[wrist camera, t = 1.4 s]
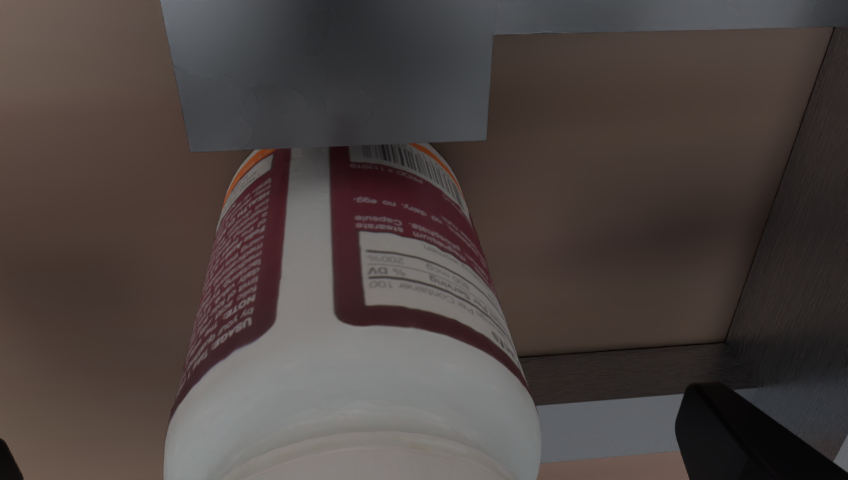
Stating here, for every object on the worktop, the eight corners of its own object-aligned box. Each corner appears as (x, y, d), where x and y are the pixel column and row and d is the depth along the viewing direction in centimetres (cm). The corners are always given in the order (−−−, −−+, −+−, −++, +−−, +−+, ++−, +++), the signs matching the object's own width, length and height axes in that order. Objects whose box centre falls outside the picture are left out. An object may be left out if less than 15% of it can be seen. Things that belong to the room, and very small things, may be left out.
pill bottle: (278, 335, 15) (232, 814, 8) (181, 149, 12) (-14, 627, 5) (487, 279, 15) (626, 721, 8) (435, 76, 12) (578, 476, 5)
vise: (1235, -127, 12) (1596, -91, 8) (928, 381, 18) (1059, 511, 15) (187, -129, 10) (116, -83, 6) (279, 434, 17) (266, 595, 13)
